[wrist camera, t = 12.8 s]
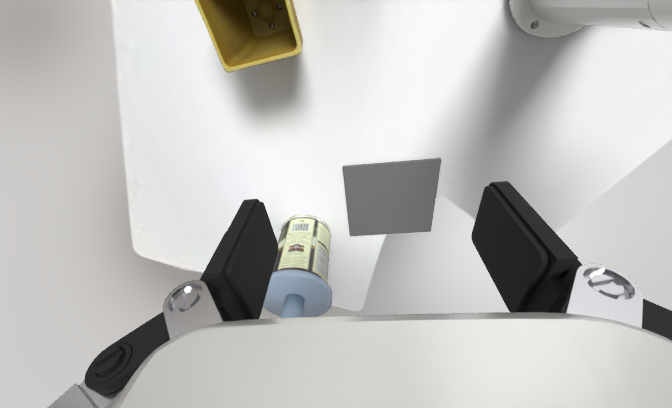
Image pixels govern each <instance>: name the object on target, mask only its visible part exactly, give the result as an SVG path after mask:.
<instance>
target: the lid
mask: <svg viewBox="0 0 672 408" xmlns="http://www.w3.org/2000/svg"><path fill="white" fill-rule="evenodd" d="M331 304H332V290H331V288H330V286H329V285H328V283H327V282H326V281H324V280H323V279H322V278H320V277H318V276H317V275H314V274H312V273H309V272H306V271H301V270H281V271H276V272H273V273H272V275H271V279H270V283H269V286H268V290H267V293H266V297H265V300H264V304H263V307H264V308H265V309H267V310H268V311H270V312H272V313H273V314H276V315H278V316H281V318H300V317H318V316H320V315H322V314H324V313H325V312H327V311H328V309H329V308H330V307H331Z"/></svg>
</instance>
